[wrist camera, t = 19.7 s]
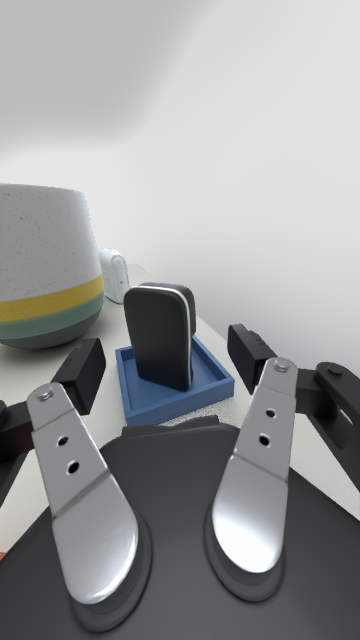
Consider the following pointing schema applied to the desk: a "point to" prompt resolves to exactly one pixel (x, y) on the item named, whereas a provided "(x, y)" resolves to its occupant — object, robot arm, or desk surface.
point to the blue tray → (166, 402)
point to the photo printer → (114, 274)
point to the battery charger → (162, 332)
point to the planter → (46, 266)
